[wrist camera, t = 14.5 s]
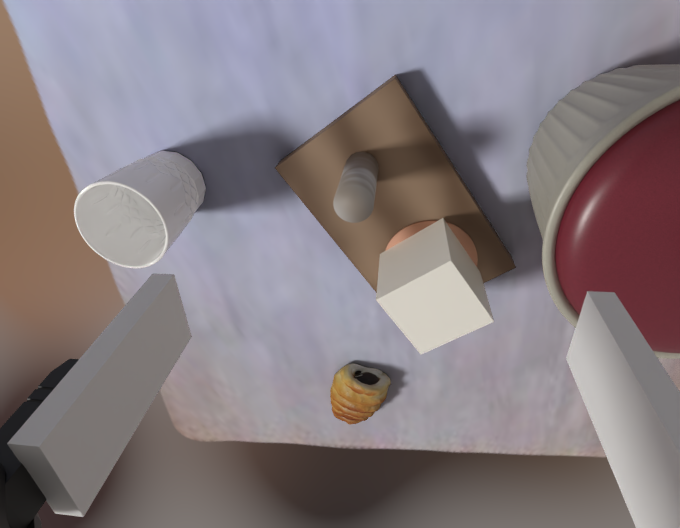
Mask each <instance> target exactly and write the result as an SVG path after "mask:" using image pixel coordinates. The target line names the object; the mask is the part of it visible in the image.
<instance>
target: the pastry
mask: <svg viewBox="0 0 680 528" xmlns="http://www.w3.org/2000/svg"><path fill="white" fill-rule="evenodd" d="M390 384H391V381H390V378H389V377H388V376H387V375H386V374H385V373H383V372H382V371H381V370H378V369H375V368H369V367H363V366H361V365H358V364H354V363H353V364H348V365H346V366H344V367H342V368H341V369H340V370H339V371H338V372H337V373H336V374H335V376H334V380H333V384H332V387H331V404H332V411H333V414H334V416H335V417H336V418H338V419H340V420H342V421H345V422H347V423H348V424H356V423H359V422H361V421H365V420H367V419H368V417H371V416H372V415H373V414H374V412H375V411H377V410H378V409H379V407H380V406H381V403H383V402H384V401H385V399H386V396H387V390H388V387H389V385H390Z"/></svg>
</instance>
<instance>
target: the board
mask: <svg viewBox="0 0 680 528" xmlns="http://www.w3.org/2000/svg"><path fill="white" fill-rule="evenodd" d="M275 169H276V170H277V171H278V172H279V174H280V175H281V176H282V177H283V179H284V180H285V181H286V182H287V183H288V185H289V186H290V187H291V188H292V190H293V191H294V192H295V193H296V195H297V196H298V197H299V198H300V199H301V201H302V202H303V203H304V204H305V206H306V207H307V208H308V209H309V210H310V212H311V213H312V214H313V215H314V217H315V218H316V219H317V220H318V222H319V223H320V224H321V225H322V226H323V228H324V229H325V230H326V231H327V233H328V234H329V235H330V236H331V237H332V239H333V240H334V241H335V242H336V244H337V245H338V246H339V247H340V249H341V250H342V251H343V252H344V253H345V255H346V256H347V257H348V258H349V260H350V261H351V262H352V263H353V264H354V266H355V267H356V268H357V269H358V271H359V272H360V273H361V274H362V276H363V277H364V278H365V279H366V280H367V282H368V283H369V284H370V285H371V287H372V288H373V289H374V290H375V291H376V293H377V283H378V271H379V259H380V254H381V253H383V252H384V251H386V250H388V249H390V248H391V247H393V246H395V245H397V244H398V243H400V242H402V241H404V240H405V239H407V238H409V237H411V236H412V235H414V234H416V233H417V232H419V231H421V230H423V229H424V228H426V227H428V226H430V225H431V224H433V223H435V222H437V221H438V220H440V219H442V218H444V220H445V221H446V223H447V224H448V226H449V227H450V229H451V230H452V232H453V233H454V234H455V236H456V237H457V239H458V240H459V242H460V243H461V245H462V246H463V248H464V249H465V251H466V252H467V254H468V255H469V256H470V258H471V259H472V261H473V262H474V264H475V265H476V267H477V268H478V270H479V271H480V273H481V277H482V280H483V283H485V282H487V281H489V280H491V279H493V278H495V277H497V276H499V275H501V274H503V273H505V272H507V271H510V270H512V269H514V268H516V267H515V264H514V262H513V259H512V257H511V255H510V254H509V252H508V251H507V249H506V248H505V246H504V244H503V243H502V241H501V240H500V238H499V237H498V235H497V233H496V232H495V230H494V229H493V227H492V226H491V224H490V222H489V221H488V219H487V218H486V216H485V215H484V213H483V211H482V210H481V208H480V207H479V205H478V204H477V202H476V200H475V199H474V197H473V196H472V194H471V193H470V191H469V189H468V188H467V186H466V185H465V183H464V182H463V180H462V178H461V177H460V175H459V174H458V172H457V171H456V169H455V167H454V166H453V164H452V163H451V161H450V160H449V158H448V156H447V155H446V153H445V152H444V150H443V149H442V147H441V145H440V144H439V142H438V141H437V139H436V138H435V136H434V134H433V133H432V131H431V130H430V128H429V127H428V125H427V123H426V122H425V120H424V119H423V117H422V116H421V114H420V112H419V111H418V109H417V108H416V106H415V105H414V103H413V101H412V100H411V98H410V97H409V95H408V94H407V92H406V90H405V89H404V87H403V86H402V84H401V83H400V81H399V79H398V78H397V76H396V75H394V76H393V77H392V78H390V79H389V80H388V81H386V82H385V83H384V84H382V85H381V86H380V87H378V88H377V89H376V90H374V91H373V92H372V93H370V94H369V95H368V96H366V97H365V98H364V99H362V100H361V101H360V102H358V103H357V104H356V105H354V106H353V107H352V108H350V109H349V110H348V111H346V112H345V113H344V114H342V115H341V116H340V117H338V118H337V119H336V120H334V121H333V122H332V123H330V124H329V125H328V126H326V127H325V128H324V129H322V130H321V131H320V132H318V133H317V134H316V135H314V136H313V137H312V138H310V139H309V140H308V141H306V142H305V143H304V144H302V145H301V146H300V147H298V148H297V149H295V150H294V151H293V152H291V153H290V154H289V155H287V156H286V157H285V158H283V159H282V160H281V161H280V162H279V163H278V165H277V166H276V167H275Z"/></svg>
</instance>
